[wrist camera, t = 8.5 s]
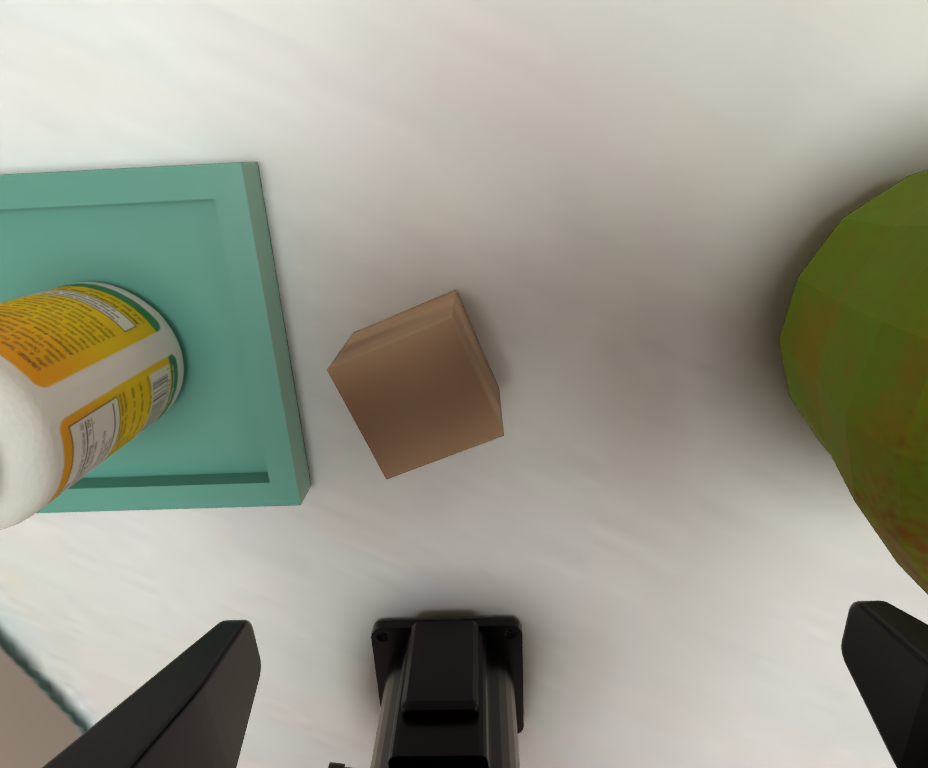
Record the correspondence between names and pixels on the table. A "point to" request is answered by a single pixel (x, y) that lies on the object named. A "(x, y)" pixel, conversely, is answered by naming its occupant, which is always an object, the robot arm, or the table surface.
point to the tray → (174, 324)
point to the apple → (870, 362)
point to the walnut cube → (419, 386)
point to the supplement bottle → (76, 386)
